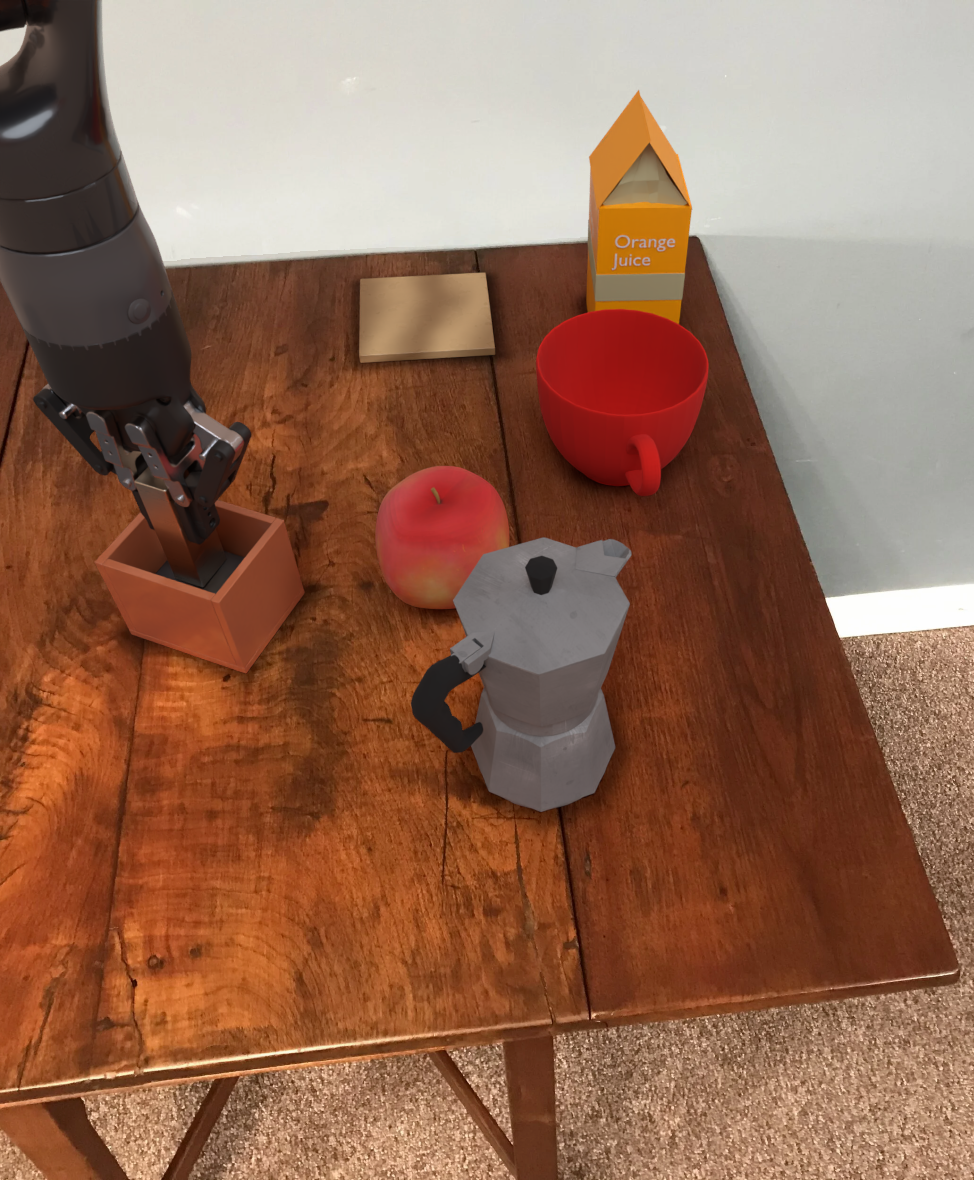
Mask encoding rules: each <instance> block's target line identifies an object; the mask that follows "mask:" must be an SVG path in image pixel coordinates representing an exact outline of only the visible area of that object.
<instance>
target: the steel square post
mask: <svg viewBox="0 0 974 1180" xmlns="http://www.w3.org/2000/svg"><path fill="white" fill-rule="evenodd" d="M188 475H189V472H188V470H187V469H186V470H185V472H184V475H183V476H184V479H185V478H186V477H187V476H188ZM134 483H135V485H136V487H137V490H138V492H139V494H140V497H141V499H142V501H143V504H144V506H145V508H146V511H147V513H148V515H149V518H150V520H151V522H152V525H153V527H154V530H155V532H156V534H157V537H158V539H159V541H160V544H161V546H162V548H163V551H164V553H165V555H166V558H167V561H166V562H165V563H164V564H163V565H162V567H161V568H160V569H159V570H158V571H157V572H156V574H157V575H160V576H163V577H166V578H169V579H172V580H175V581H178V582H181V583H184V584H187V585H190V586H193V587H196V588H199V589H202V590H206V591H209V592H212V593H215V594H216V593H217V592H218V591H219V589H220V588H221V587H222V586H223V584H224V583H225V582H226V581H227V579H228V578H229V577H230V576H231V574H232V573H233V572H234V571H235V569H236V568H237V567H238V566H239V564H240V563H241V562H242V561H243V559H244V558H245V557H242V556H239V555H236V554H233V553H229V552H226V551H223V548H222V545H221V542H220V539H219V537H218V534H217V531H216V529H215V530H214V531H213V532H212V533H211V535H210V536H209V537H208V538H207V539H206V540H205V541H204V542H203V543H202V544H196V543H193V542H190V541H189V540H188V538H187V536H186V533H185V531H184V528H183V525H182V523H181V520H180V518H179V515H178V513H177V510H176V508H175V505H174V503H175V501H174V500H173V499H172V497H171V495H170V493H169V491H168V489H167V487H166V485H165V483H164V481H163V479H158V478H155V477H154V476H153V475H152V473H151V471H150V469H149V467H147V469H146V470H145V471H144V472H143V473H142V474H141V475H140V476H139V477H138V478H137V479H136V480H135V481H134Z"/></svg>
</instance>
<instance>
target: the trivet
mask: <svg viewBox="0 0 974 1180" xmlns="http://www.w3.org/2000/svg"><path fill="white" fill-rule="evenodd" d="M492 321H493V320H492V312H491V304H490V297H489V290H488V281H487V273H486V272H470V273H450V274H449V273H448V274H430V275H429V274H428V275H410V276H408V275H407V276H387V277H371V278H369V277H368V278H360V279H359V326H358V327H359V329H358V330H359V335H358V336H359V339H358V340H359V341H358V357H359V362H360V363H361V364H364V363H383V362H399V361H414V360H416V361H417V360H433V359H449V358H467V357H481V356H482V357H484V356H495V355H496V347H495V346H496V344H495V337H494V330H493V322H492Z"/></svg>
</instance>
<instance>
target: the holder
mask: <svg viewBox="0 0 974 1180" xmlns="http://www.w3.org/2000/svg"><path fill="white" fill-rule="evenodd" d="M215 506H216V509H217V512H218V514H219V517H220V524H219V525H218V526H217V527H216V531H217V534H218V537H219V539H220V542H221V545H222V548H223V551H226V552H229V553H233V554H236V555H239V556H242V557H245V558H244V559H243V561H242V562H241V563H240V564H239V566H238V567H237V568H236V569H235V571H234V572H233V573H232V574H231V576H230V577H229V578H228V579H227V581H226V582H225V583H224V584H223V586H222V587H221V588H220V589H219V591H218V592H217V593H216V594H215V593H212V592H209V591H206V590H202V589H199V588H196V587H193V586H190V585H187V584H184V583H181V582H178V581H175V580H172V579H169V578H166V577H163V576H160V575H157V574H156V572H157V571H158V570H159V569H160V568H161V567H162V565H163V564H164V563H165V562H166V561H167V558H166V555H165V553H164V551H163V548H162V546H161V544H160V541H159V539H158V537H157V534H156V532H155V530H153V529H151V528H150V527H149V525H148V522H147V520H146V519H145V517H144V516H143V515H142V514H141V512H140V511H139V513H138V514H137V515H135V517H134V518H133V519H132V520H131V522H130V523H128V525H127V526H126V527H125V528H124V529H123V530H122V531H121V532H120V533H119V534H118V535H117V537H115V539H114V540H113V541H112V542H111V543H110V544H109V545H107V547H106V549H104V551H103V552H102V553H101V554H100V555H99V556H98V557H97V558H96V559H95V560H94V564H95V566H96V568H97V570H98V572H99V574H100V576H101V578H102V581H103V582H104V584H105V587H106V588H107V591H108V592H109V595H110V596H111V597H112V599H113V601H114V603H115V606H116V607H117V609H118V611H119V613H120V615H121V617H122V619H123V621H124V623H125V625H126V627H127V628H128V630H129V633H130V634H131V635H132V636H134V637H138V638H140V639H144V640H147V641H150V642H152V643H156V644H158V645H161V646H164V647H166V648H167V647H168V648H170V649H173V650H176V651H179V652H182V653H185V654H187V655H190V656H194V657H195V658H199V659H202V660H205V661H207V662H211V663H214V664H216V665H220V666H222V667H225V668H228V669H231V670H234V671H237V672H240V673H242V674H248V672H249V671H250V669H251V668H252V667H253V666H254V664H255V663H256V661H257V660H258V659H259V657H260V656H261V654H262V653H263V652H264V650H265V649H266V648H267V646H268V645H269V643H270V642H271V640H272V639H273V638H274V636H275V635H276V633H277V632H278V631H279V629H280V628H281V626H282V625H283V624H284V623H285V621H286V620H287V619H288V617H289V615H290V614H291V612H292V611H293V610H294V609H295V608H296V606H297V605H298V603H299V602H300V600H301V599H302V598H303V596H304V595H305V593H306V592H305V589H304V585H303V582H302V578H301V575H300V572H299V571H300V570H299V568H298V564H297V561H296V558H295V554H294V550H293V547H292V543H291V540H290V537H289V532H288V530H287V525H286V523H285V520H284V519H283V518H279V517H275V516H272V515H269V514H265V513H262V512H259V511H255V510H252V509H249V508H246V507H243V506H239V505H236V504H233V503H230V502H226V501H224V500H220V499H218V500H217V501H216V502H215Z"/></svg>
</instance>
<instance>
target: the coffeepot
mask: <svg viewBox="0 0 974 1180" xmlns="http://www.w3.org/2000/svg"><path fill="white" fill-rule="evenodd" d="M631 556H632V550H631V549H630V548H629V547H628V546H626V545H625V544H624V543H623V542H621V541H618V540H616V539H613V538H608V539H605V540H603V539H600V540H595V541H594V542H593V541H592V542H590V543H586V544H583V545H580V546H572V545H569V544H566V543H564V542H560V541H557V540H554V539H551V538H548V537H546V536H545V537H544V536H543V537H540V538H536V539H533V540H529V541H526V542H521V543H518V544H515V545H511V546H509V547H507V548H504V549H500V550H497V551H493V552H490V553H486V554H483V555H482V557H481V558H480V560H479V561H478V563H477V565H476V566H475V568H474V569H473V571H472V572H471V574H470V575H469V577H468V578H467V580H466V581H465V583H464V584H463V586H462V587H461V589H460V591H459V592H458V594H457V595H456V597H455V598H454V600H453V603H454V605H455V607H456V608H455V609H456V612H457V615H458V618H459V620H460V623H461V627H462V629H463V632H464V635H465V637H464V638H463V639H462V640H460V641H458V642H457V643H456V644H454V645H453V646H451V647H450V648H449V650H450V655H448V656H446V657H444V658H442V659H440V660H438V661H436V662H435V663H433V664H431V665H430V666H429V667H428V668H427V669H426V671H425V673H424V674H423V675H422V678H421V680H420V681H419V683H418V685H417V686H416V688H415V690H414V692H413V694H412V696H411V701H410V707H411V713H412V715H413V717H414V719H416V720H417V721H418V722H419V723H420V724H421V725H422V726H424V727H425V728H426V729H427V730H429V732H430V733H432V734H433V735H434V736H435V737H436V738H437V739H438V740H439V741H440V742H441V743H442V744H443V745H445V747H447V749H448V750H449V751H451V752H452V753H453V754H462V753H463V752H465V751H466V750H468V749H469V748H470V747H471V750H472V752H473V755H474V757H475V758H474V759H475V760H476V763H477V766H478V769H479V771H480V774H481V775H482V777H483V780H484V783H485V786H486V788H487V790H488V792H489V793H491V794H493V795H496V796H498V797H500V798H502V799H504V800H506V801H508V802H510V803H511V804H515V805H517V806H521V807H524V808H527V809H532V810H535V811H537V812H540V813H542V812H547V811H549V810H552V809H557V808H560V807H565V806H569V805H571V804H572V803H574V802H578V801H579V800H581V799H583V798H584V797H587V796H589V795H593V794H595V793H596V791H597V788H598V786H599V784H600V782H601V780H602V778H603V777H604V775H605V773H606V770H607V767H608V765H609V763H610V760H611V758H612V756H613V754H614V752H615V750H616V744H615V743H616V742H615V739H614V735H613V731H612V726H611V721H610V717H609V712H608V708H607V704H606V698H605V695H604V692H603V690H602V686H603V684H604V682H605V679H606V677H607V675H608V673H609V670H610V667H611V664H612V661H613V658H614V655H615V651H616V649H617V646H618V642H619V639H620V636H621V633H622V630H623V627H624V624H625V620H626V617H627V615H628V612H629V608H630V605H631V603H630V601H629V599H628V598H627V596H626V594H625V592H624V590H623V589H622V587H621V585H620V583H619V581H618V580H617V577H618V575H619V574H620V573H621V572H622V569H623V568H624V566H626V564H627V563H628V561H629V560H630V558H631ZM476 675H479V678H480V680H481V683H482V685H483V689H482V691H481V693H480V698H479V703H478V708H477V714H476V718H475V723H473V724H472V725H470V726H469V727H466V728H464V729H463V724H462V721H461V720H460V719H459V718H458V717H456V716H455V715H453V712H452V711H451V707H450V705H449V704H448V703H447V702H446V699H447V697H448V695H449V694H450V692H451V691H452V690H454V689H456V688H457V687H458V686H460V685H462V684H464V683H466V682H467V681H468V680H471V679H472V678H473V677H475V676H476Z"/></svg>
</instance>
